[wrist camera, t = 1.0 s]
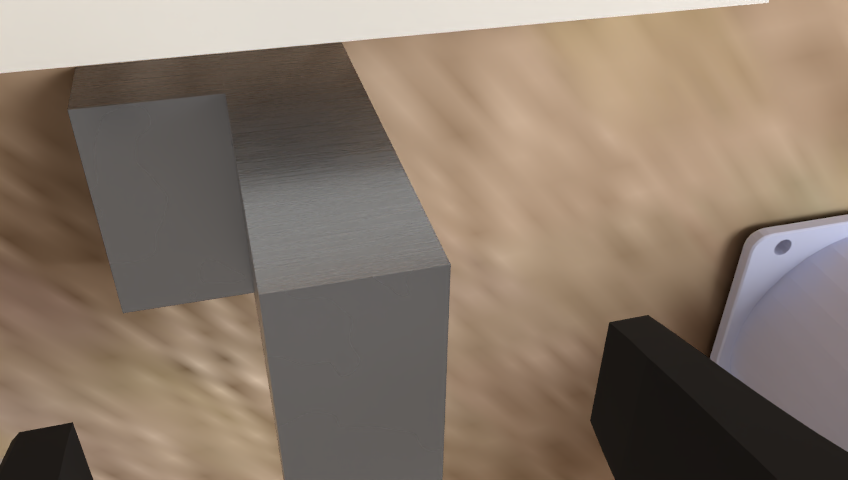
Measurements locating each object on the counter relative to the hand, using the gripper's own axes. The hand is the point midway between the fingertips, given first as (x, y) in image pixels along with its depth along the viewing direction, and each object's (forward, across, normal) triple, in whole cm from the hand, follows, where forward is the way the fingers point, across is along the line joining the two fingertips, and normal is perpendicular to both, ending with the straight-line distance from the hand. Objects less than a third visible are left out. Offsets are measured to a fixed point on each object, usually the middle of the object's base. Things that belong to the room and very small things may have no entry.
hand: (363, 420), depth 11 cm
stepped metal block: (+8, +1, 0) cm, 8 cm away
